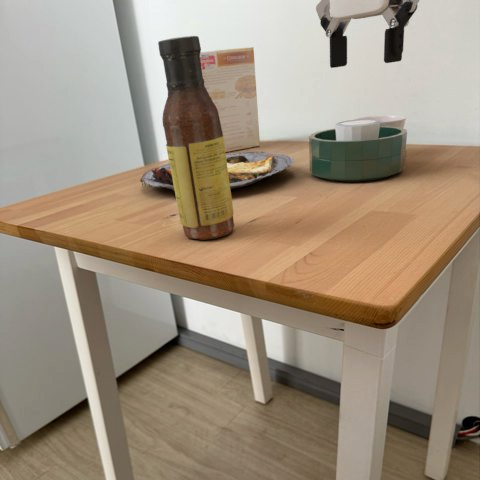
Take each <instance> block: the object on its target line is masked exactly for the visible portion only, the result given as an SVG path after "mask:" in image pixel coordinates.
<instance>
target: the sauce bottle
mask: <svg viewBox="0 0 480 480" xmlns="http://www.w3.org/2000/svg"><path fill="white" fill-rule="evenodd" d="M157 45H158V51H159V56H160V58H161V60H162V62H163V68H164V75H165V79H166V80H165V81H166V83H165V84H166V89H167V97H166V101H165V104H164V107H163V111H162V117H161V118H162V120H161V121H162V128H163V132H164V137H165V141H166V144H165V148H166V152H167V157H168V164H170V168H171V174H172V179H173V184H174V190H175V191H174V190H173V191H174V194H175V195H174V196H175V199H176V205H177V211H178V212H177V213H178V216H179V222H180V224H181V226H182V229H183V233H184V235H185V237H187V238H188V239H189V240H190V239H191V240H200V241H207V240H215V239H219V238H222V237H225V236H227V235H229V234H230V233H232V232H233V230H234V228H235V222H234V221H235V220H234V213H235V212H234V206H233V205H234V204H233V197H232V192H231V190H232V189H230V183H229V176H228V168H227V161H226V153H227V152H225V146H224V138H223V132H222V128H221V123H220V119H219V114H218V110H217V108H216V106H215V104H214V103H213V101H212V99H211V97H210V96H209V94H208V92H207V90H206V88H205V86H204V79H203V76H202V68H201V61H200V52H202V47H201V43H200V38H199V36H198V35H190V36H189V35H187V36H179V37H178V36H177V37H171V38H167V39H161V40H159V41H158V43H157Z"/></svg>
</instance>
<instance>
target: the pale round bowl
mask: <svg viewBox="0 0 480 480" xmlns="http://www.w3.org/2000/svg"><path fill="white" fill-rule="evenodd" d="M361 119H370V120H378V121H381V123H380V126H391V127H399V128H403V129H405V124H406V121H407V120H406V119H407V117H406V116H404V115H395V114H394V115H393V114H391V115H386V114H385V115H383V114H382V115H372V116H371V115H370V116H362V117H357V118H354V119H353V120H361Z"/></svg>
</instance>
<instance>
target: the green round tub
mask: <svg viewBox="0 0 480 480" xmlns="http://www.w3.org/2000/svg"><path fill="white" fill-rule="evenodd" d="M308 138H309V139H308V142H309V143H308V144H309V145H308V149H309V152H308V153H309V173H310V174H311V175H312V176H315V177H317V178H321V179H324V180H328V181H334V182H345V183H346V182H350V183H352V182H369V181H376V180H382V179H384V178H388V177H391V176H393V175H396V174H399V173H401V172H402V171H403V170H404V169H405V164H406V151H407V150H406V149H407V139H408V130H407V129H406V128H399V127H391V126H380V130H379V137H378V139H368V140H352V141H336V130H335V128H330V129H324V130H320V131H317V132H314V133H311V134H310V135H309V136H308Z"/></svg>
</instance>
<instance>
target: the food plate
mask: <svg viewBox="0 0 480 480" xmlns="http://www.w3.org/2000/svg"><path fill="white" fill-rule="evenodd" d="M226 161H227V168H228V176H229V183H230V190H232V189H236V188H237V189H238V188H242V187H245V186H249V185H253V184H255V183H258V182H260V181H262V180H263V179H265V178H267V177H271V176H273V175H274V174H277V173H281V172H283V171H284V170H286V169H287V168H290V167H291V166H292V165H293V164H294V163H295V160H294V158H293V157H291V156H289V155H286V154H280V153H271V152H267V151H243V152H234V153H227V154H226ZM139 182H141V186H146V185H148V187H149V188H154V187H157V188H166V189H169V190H172V191H173V192H175V190H174V184H173V179H172V174H171V168H170V163H167V164H164V165H161V166H159V167H155V168H151V169H150V170H148V171H146V172H144V173H143V174H142V176H141V178H140V180H139Z"/></svg>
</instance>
